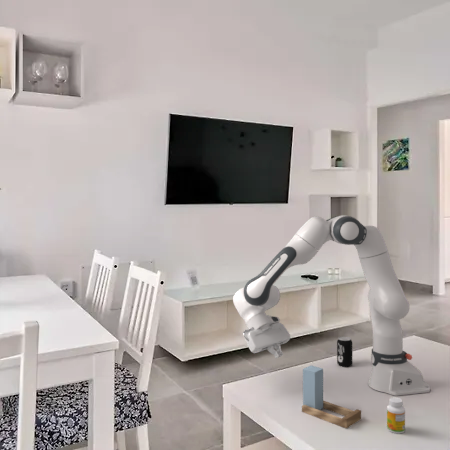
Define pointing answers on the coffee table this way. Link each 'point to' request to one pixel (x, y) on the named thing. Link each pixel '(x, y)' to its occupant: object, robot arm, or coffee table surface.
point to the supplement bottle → (395, 415)
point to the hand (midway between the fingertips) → (279, 356)
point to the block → (313, 387)
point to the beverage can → (344, 351)
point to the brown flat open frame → (345, 422)
